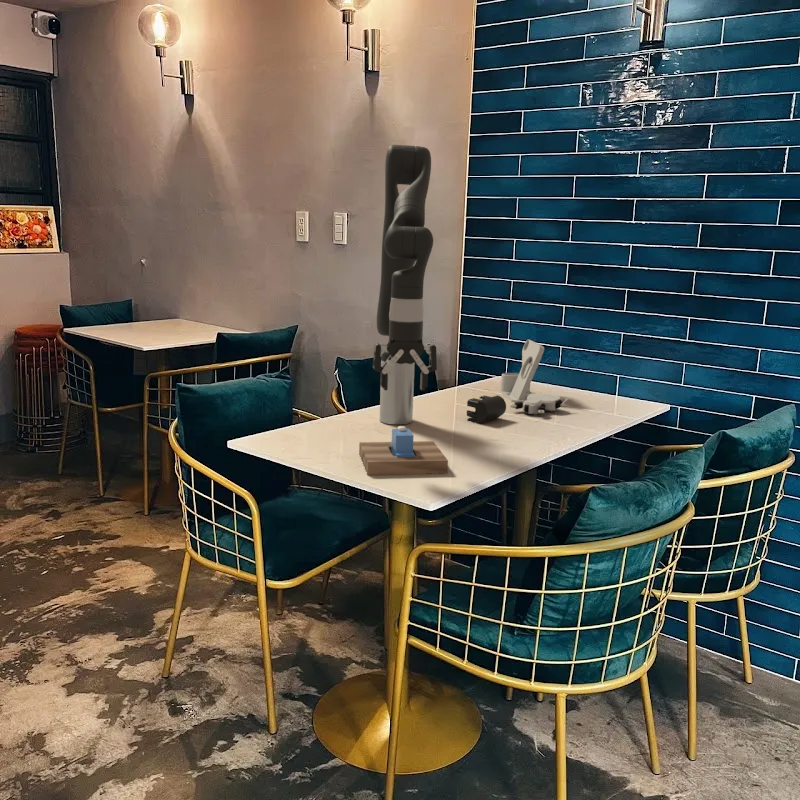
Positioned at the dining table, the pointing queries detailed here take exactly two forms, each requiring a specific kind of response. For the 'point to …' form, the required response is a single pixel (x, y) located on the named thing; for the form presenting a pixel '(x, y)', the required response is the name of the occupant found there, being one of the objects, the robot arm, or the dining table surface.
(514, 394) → the phone holder
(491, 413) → the end cap
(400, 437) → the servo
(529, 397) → the robot toy
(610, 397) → the dining table surface
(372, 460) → the board
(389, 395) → the robot arm
